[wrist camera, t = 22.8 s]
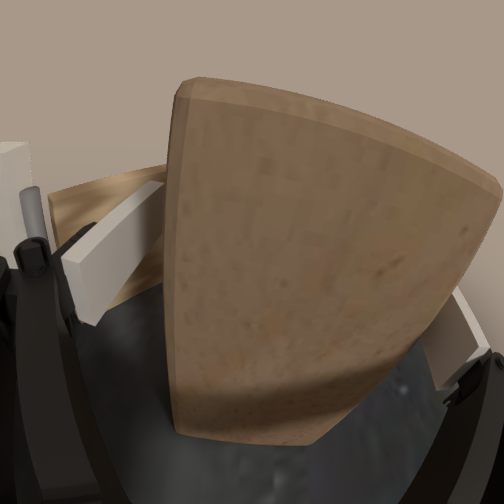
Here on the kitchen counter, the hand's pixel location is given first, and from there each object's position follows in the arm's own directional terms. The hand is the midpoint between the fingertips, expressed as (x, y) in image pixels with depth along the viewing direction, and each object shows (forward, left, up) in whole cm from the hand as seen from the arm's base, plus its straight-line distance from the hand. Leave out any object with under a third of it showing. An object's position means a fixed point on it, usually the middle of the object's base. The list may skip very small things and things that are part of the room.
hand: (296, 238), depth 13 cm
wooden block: (0, 0, -14) cm, 14 cm away
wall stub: (-20, 0, -14) cm, 24 cm away
